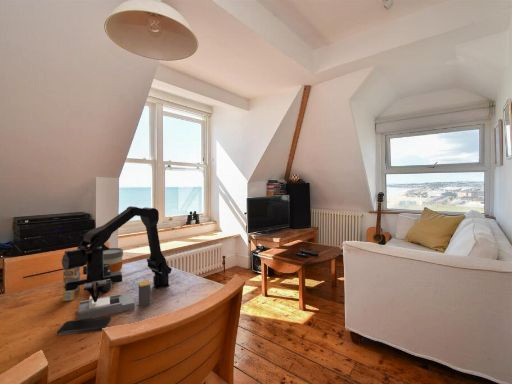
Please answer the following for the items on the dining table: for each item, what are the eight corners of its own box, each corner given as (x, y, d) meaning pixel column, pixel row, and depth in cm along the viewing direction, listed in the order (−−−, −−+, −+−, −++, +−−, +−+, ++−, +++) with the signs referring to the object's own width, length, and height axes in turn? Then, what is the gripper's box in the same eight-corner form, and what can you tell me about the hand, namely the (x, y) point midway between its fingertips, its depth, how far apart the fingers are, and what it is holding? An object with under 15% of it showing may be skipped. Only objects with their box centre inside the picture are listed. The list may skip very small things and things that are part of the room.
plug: (148, 300, 111) (148, 280, 110) (150, 304, 107) (150, 283, 107) (138, 303, 109) (138, 282, 108) (139, 307, 105) (139, 285, 105)
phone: (105, 327, 89) (55, 333, 85) (105, 330, 89) (55, 336, 85) (112, 316, 97) (66, 320, 93) (112, 319, 97) (66, 323, 93)
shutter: (109, 298, 107) (109, 292, 107) (110, 305, 101) (109, 298, 101) (89, 302, 103) (89, 295, 103) (88, 309, 97) (88, 303, 97)
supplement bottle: (103, 293, 117) (103, 268, 116) (91, 292, 118) (90, 266, 118) (115, 287, 124) (114, 263, 123) (102, 286, 125) (102, 262, 124)
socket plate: (132, 297, 113) (132, 291, 113) (134, 308, 104) (134, 301, 104) (80, 308, 103) (80, 300, 103) (77, 321, 94) (77, 313, 94)
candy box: (74, 300, 110) (74, 265, 110) (62, 301, 109) (62, 266, 108) (80, 291, 119) (80, 259, 118) (69, 293, 117) (69, 260, 117)
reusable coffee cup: (91, 280, 132) (90, 251, 132) (115, 273, 143) (115, 246, 142) (104, 285, 126) (103, 255, 125) (128, 277, 136) (128, 250, 136)
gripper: (120, 254, 112) (120, 289, 113) (68, 260, 103) (68, 299, 103) (122, 261, 103) (122, 299, 103) (64, 269, 93) (65, 311, 94)
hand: (95, 301), depth 101 cm, fingers closed
